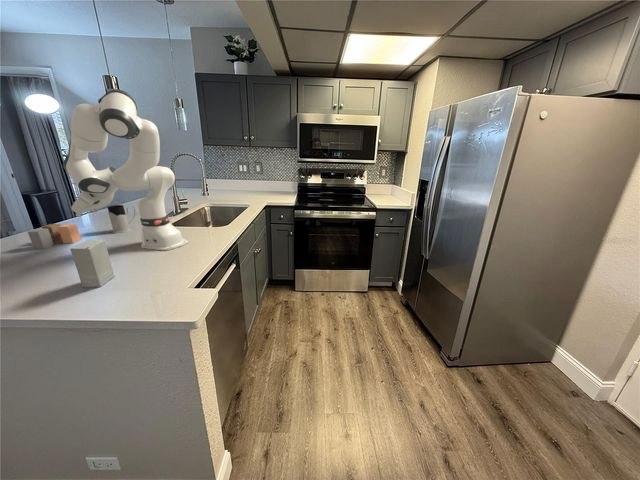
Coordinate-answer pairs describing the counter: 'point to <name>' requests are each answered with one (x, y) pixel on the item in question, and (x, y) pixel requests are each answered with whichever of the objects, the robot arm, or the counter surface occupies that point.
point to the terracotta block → (69, 233)
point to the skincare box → (92, 263)
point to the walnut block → (54, 232)
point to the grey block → (41, 238)
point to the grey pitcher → (119, 218)
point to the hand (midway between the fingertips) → (86, 213)
